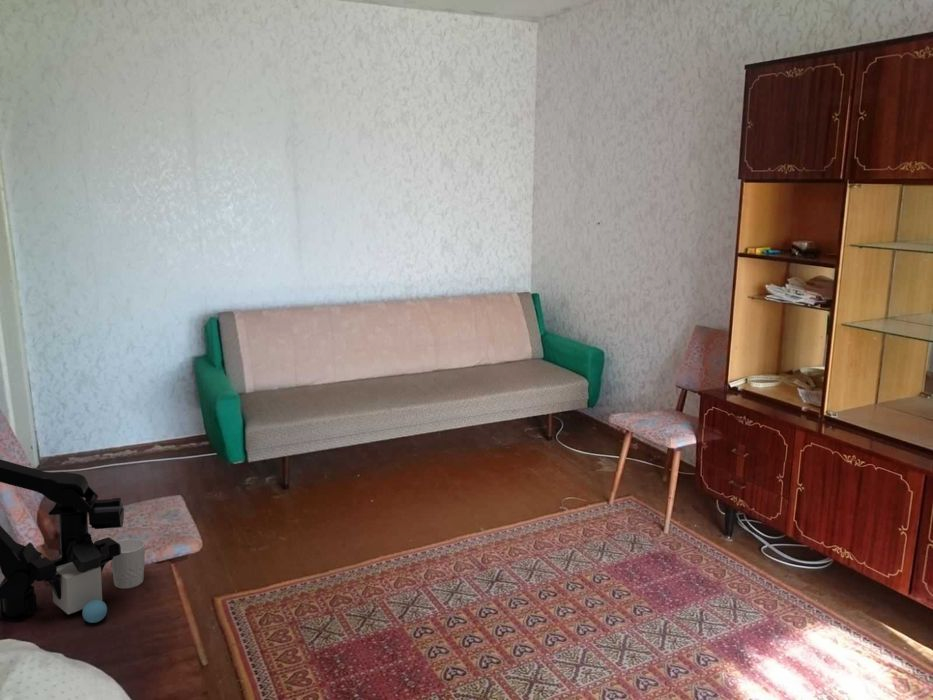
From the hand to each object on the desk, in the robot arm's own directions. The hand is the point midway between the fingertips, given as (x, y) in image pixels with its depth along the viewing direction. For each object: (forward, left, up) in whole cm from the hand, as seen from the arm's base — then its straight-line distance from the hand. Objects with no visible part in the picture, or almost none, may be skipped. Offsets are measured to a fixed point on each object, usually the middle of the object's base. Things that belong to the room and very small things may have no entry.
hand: (77, 592), depth 170 cm
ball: (+7, -4, -2) cm, 9 cm away
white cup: (+4, +13, -4) cm, 15 cm away
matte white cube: (0, 0, -2) cm, 2 cm away
